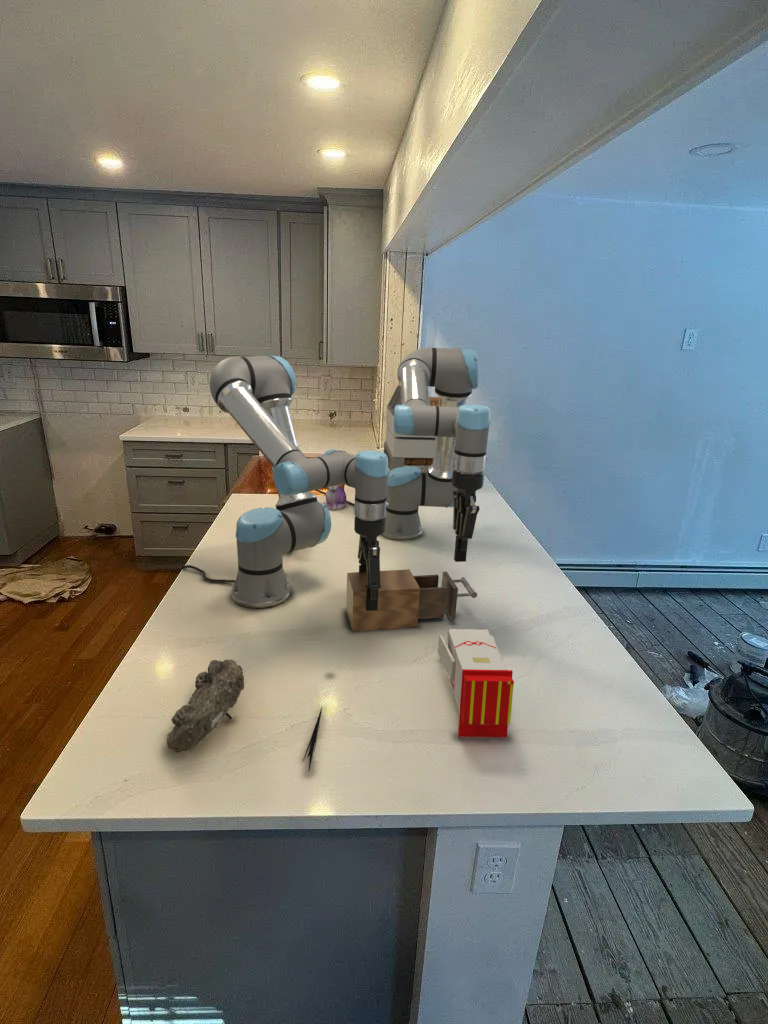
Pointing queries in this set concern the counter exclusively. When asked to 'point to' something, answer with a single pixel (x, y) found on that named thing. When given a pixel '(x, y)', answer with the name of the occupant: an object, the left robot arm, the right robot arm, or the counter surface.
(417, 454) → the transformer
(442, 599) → the drawer
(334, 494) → the figurine
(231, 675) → the fossil
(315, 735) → the feather
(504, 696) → the toy
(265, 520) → the left robot arm
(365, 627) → the cabinet
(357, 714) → the counter surface
